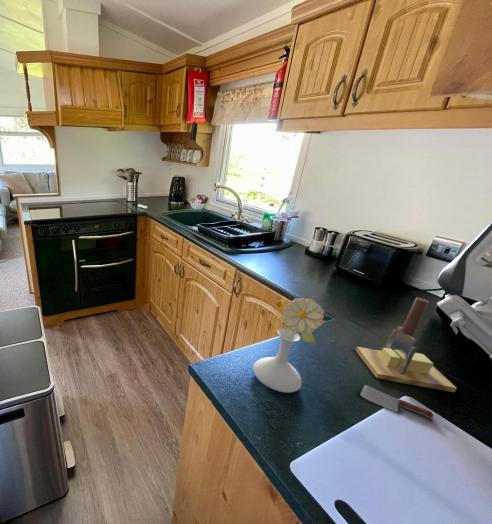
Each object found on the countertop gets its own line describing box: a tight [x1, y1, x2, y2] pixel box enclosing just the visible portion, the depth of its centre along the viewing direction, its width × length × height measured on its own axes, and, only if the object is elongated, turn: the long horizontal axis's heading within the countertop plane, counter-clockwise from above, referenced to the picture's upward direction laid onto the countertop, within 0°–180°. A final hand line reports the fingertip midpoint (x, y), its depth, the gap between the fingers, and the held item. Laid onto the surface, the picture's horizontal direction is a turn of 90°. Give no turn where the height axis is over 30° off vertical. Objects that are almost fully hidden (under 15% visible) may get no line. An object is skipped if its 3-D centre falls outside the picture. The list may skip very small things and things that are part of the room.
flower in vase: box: [252, 297, 325, 394], centre depth 68 cm, size 13×11×25 cm
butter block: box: [393, 349, 434, 374], centre depth 79 cm, size 7×4×4 cm, turn 78°
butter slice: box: [379, 347, 400, 368], centre depth 80 cm, size 2×4×4 cm, turn 168°
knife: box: [391, 296, 430, 357], centre depth 76 cm, size 3×6×16 cm, turn 168°
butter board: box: [355, 328, 458, 393], centre depth 79 cm, size 18×12×10 cm, turn 78°
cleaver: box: [359, 384, 434, 419], centre depth 68 cm, size 13×2×5 cm
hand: (477, 340), depth 67 cm, fingers open, 8 cm apart
